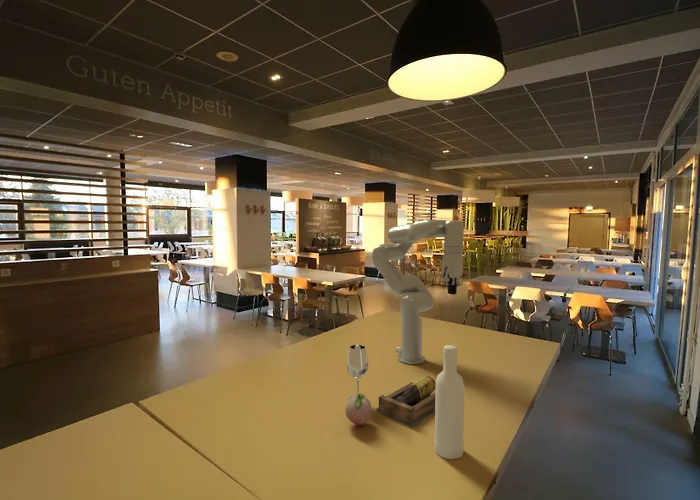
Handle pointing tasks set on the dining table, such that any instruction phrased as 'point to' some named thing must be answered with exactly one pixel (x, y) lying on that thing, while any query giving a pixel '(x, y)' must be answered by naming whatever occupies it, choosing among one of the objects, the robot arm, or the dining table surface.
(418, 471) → the dining table surface
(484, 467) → the dining table surface
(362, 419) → the decorative fruit
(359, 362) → the wineglass
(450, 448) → the bottle
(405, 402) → the sauce bottle
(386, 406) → the cradle
